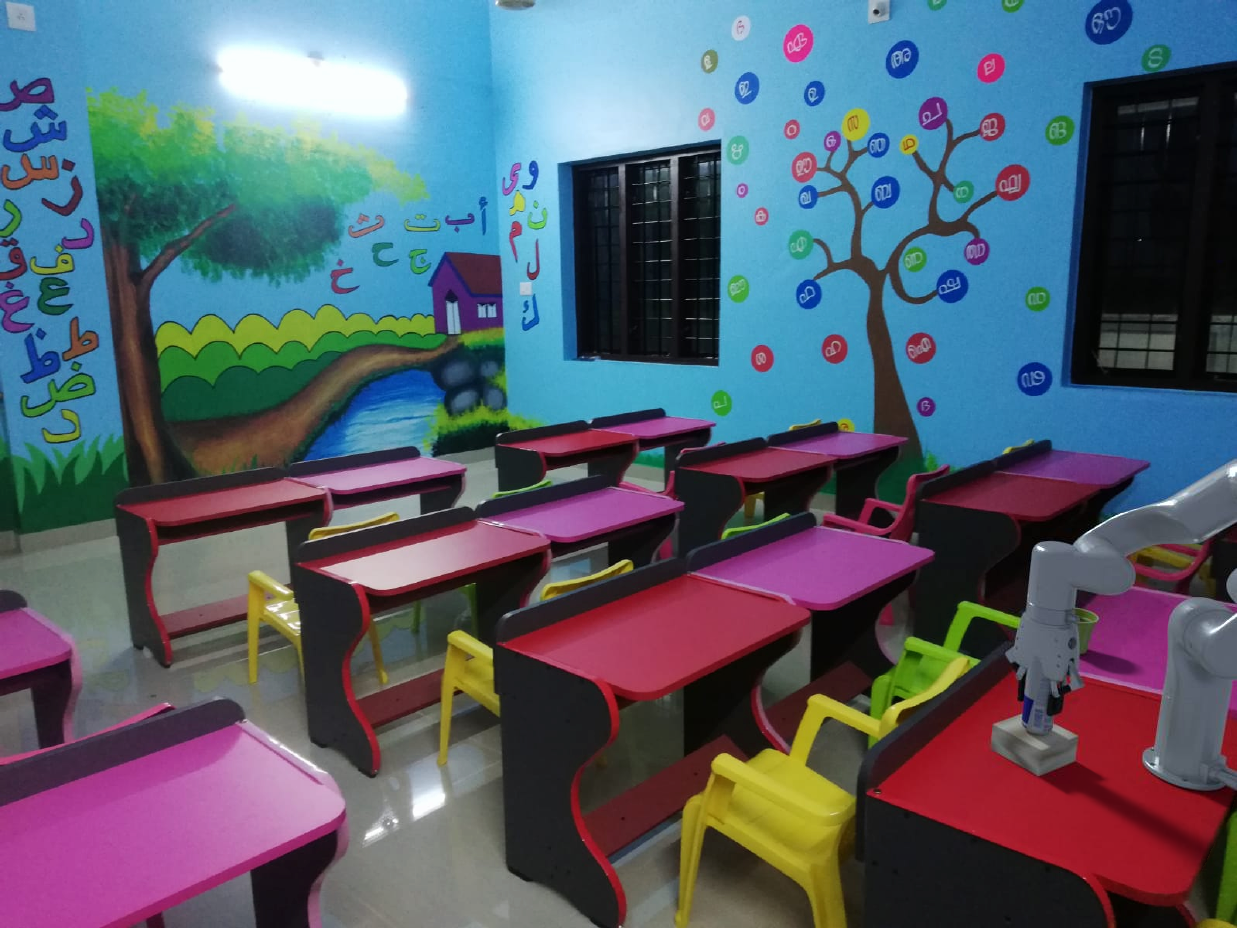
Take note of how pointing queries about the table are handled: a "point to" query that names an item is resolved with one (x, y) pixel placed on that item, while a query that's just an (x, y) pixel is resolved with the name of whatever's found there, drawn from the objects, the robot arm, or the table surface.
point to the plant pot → (1085, 627)
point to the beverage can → (1036, 699)
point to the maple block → (1033, 746)
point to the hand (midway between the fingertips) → (1039, 705)
